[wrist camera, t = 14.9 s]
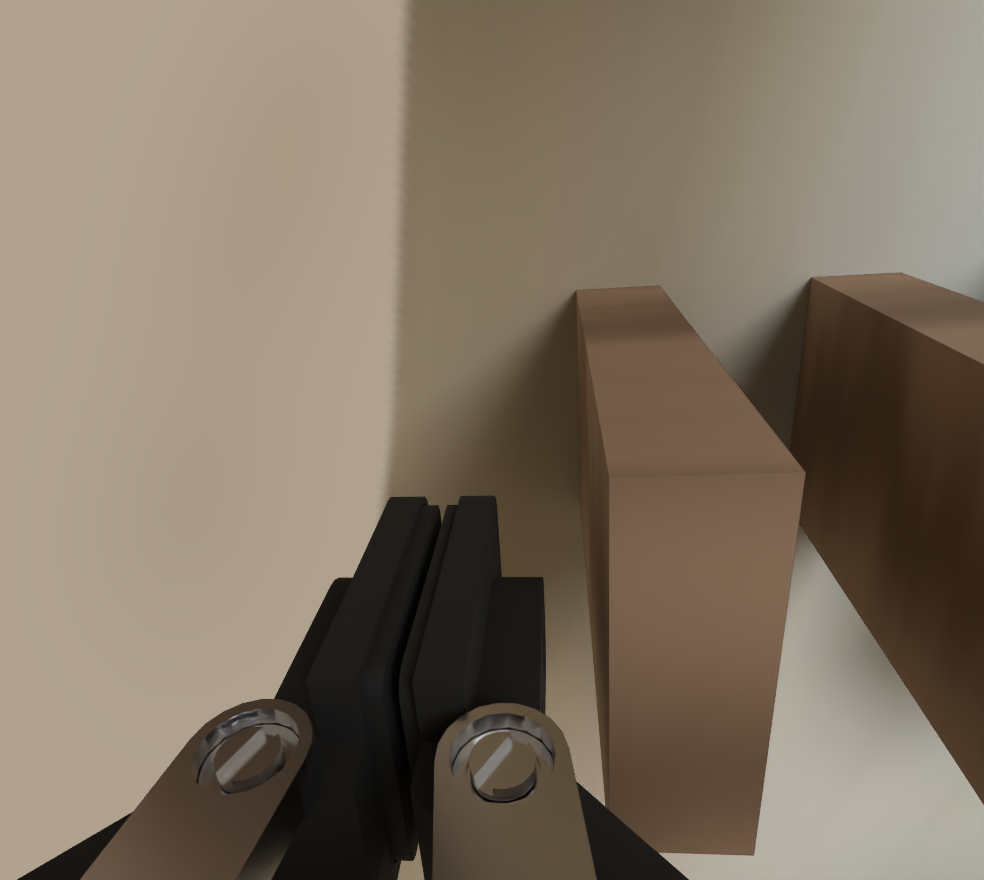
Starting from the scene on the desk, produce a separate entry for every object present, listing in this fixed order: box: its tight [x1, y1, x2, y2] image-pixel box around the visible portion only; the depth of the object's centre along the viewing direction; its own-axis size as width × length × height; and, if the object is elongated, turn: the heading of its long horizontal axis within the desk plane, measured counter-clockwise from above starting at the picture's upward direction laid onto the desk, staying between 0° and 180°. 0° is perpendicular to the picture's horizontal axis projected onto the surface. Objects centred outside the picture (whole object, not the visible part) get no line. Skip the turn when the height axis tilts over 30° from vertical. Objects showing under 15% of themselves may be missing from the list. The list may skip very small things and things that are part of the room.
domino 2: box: [790, 273, 984, 804], centre depth 12 cm, size 6×2×10 cm, turn 4°
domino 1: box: [576, 286, 806, 856], centre depth 13 cm, size 6×2×10 cm, turn 4°
